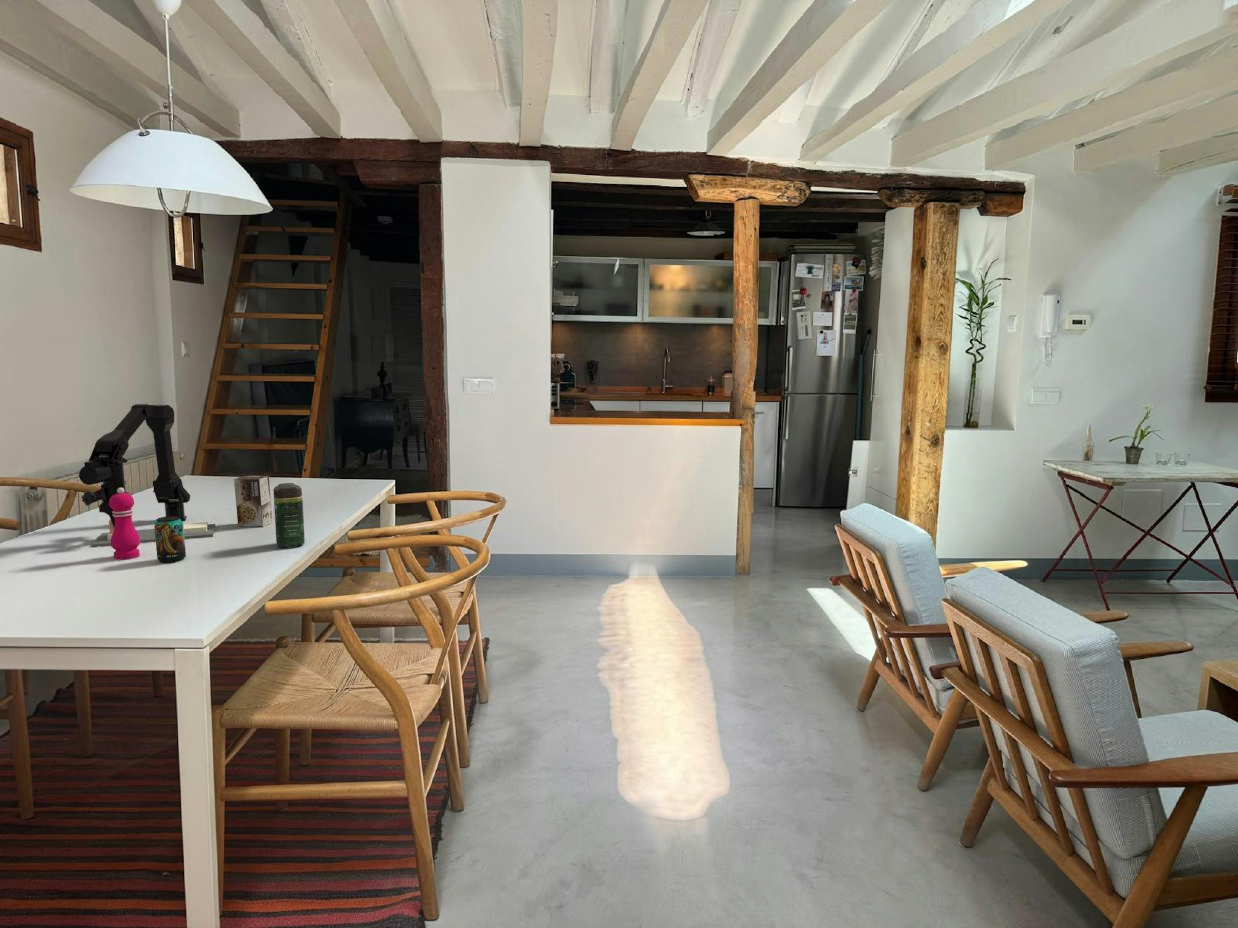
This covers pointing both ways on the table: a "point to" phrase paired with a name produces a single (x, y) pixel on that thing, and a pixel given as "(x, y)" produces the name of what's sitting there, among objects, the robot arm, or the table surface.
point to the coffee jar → (289, 515)
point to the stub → (110, 530)
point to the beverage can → (170, 539)
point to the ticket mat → (149, 534)
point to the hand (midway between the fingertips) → (118, 529)
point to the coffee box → (253, 500)
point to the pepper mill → (124, 527)
